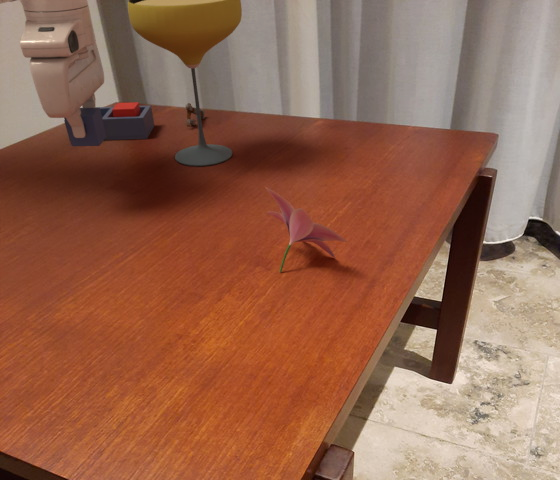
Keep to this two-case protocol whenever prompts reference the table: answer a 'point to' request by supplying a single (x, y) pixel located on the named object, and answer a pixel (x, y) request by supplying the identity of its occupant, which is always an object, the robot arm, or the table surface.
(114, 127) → the tray
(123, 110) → the red block
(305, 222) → the lily
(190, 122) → the brown lumpy upright piece
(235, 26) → the cocktail glass
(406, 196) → the table surface
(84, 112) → the blue block
